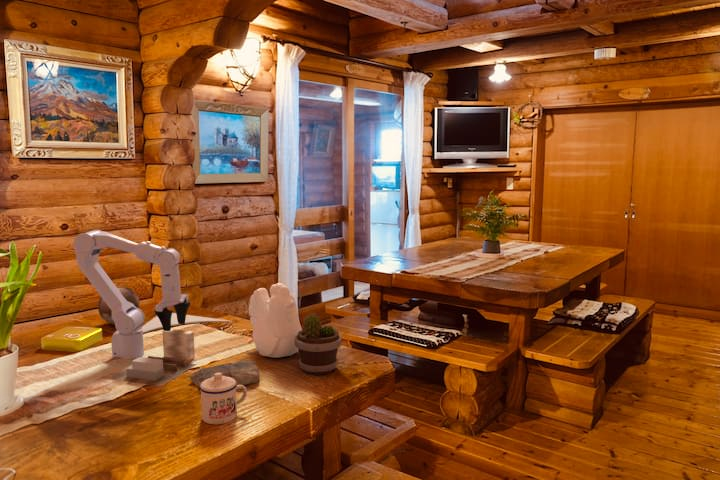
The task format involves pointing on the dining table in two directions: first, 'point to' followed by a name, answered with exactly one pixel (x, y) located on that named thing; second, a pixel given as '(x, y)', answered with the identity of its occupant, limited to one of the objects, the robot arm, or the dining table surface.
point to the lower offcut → (144, 374)
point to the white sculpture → (274, 321)
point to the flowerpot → (317, 346)
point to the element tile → (71, 339)
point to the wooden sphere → (107, 312)
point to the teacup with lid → (220, 399)
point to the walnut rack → (170, 372)
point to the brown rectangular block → (178, 344)
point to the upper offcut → (147, 364)
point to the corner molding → (157, 324)
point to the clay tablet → (229, 373)
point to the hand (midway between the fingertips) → (174, 327)
